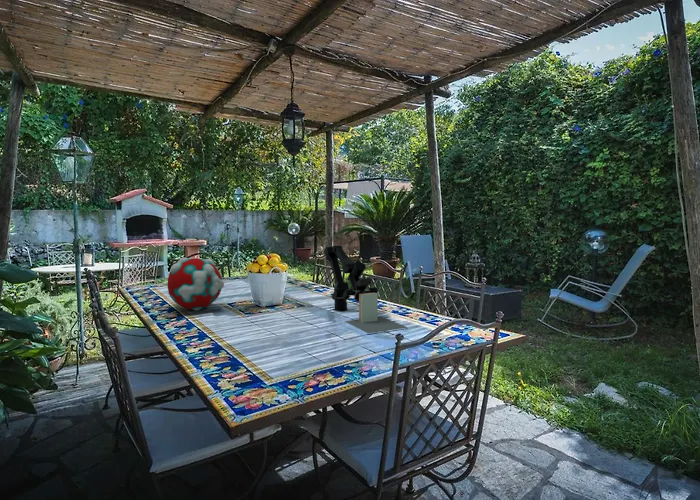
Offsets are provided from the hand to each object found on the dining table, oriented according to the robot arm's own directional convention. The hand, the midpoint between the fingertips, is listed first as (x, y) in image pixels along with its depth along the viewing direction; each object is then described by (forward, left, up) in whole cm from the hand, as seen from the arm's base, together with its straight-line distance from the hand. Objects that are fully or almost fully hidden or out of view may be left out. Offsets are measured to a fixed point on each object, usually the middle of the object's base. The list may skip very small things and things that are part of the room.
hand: (366, 306), depth 211 cm
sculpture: (-96, -29, -8) cm, 100 cm away
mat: (+8, -5, -8) cm, 12 cm away
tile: (+2, -1, -7) cm, 7 cm away
